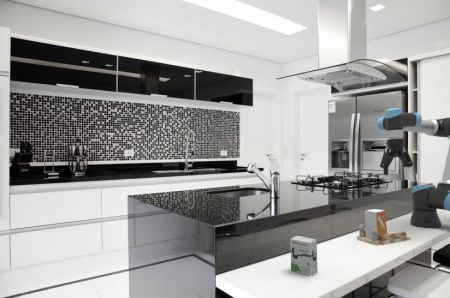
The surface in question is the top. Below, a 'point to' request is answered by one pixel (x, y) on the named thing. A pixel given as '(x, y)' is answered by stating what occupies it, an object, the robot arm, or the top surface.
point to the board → (381, 236)
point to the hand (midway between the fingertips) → (397, 180)
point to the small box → (375, 222)
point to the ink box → (304, 254)
